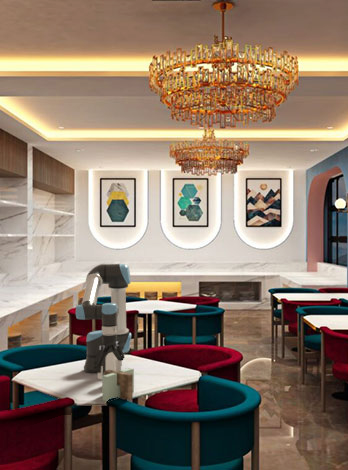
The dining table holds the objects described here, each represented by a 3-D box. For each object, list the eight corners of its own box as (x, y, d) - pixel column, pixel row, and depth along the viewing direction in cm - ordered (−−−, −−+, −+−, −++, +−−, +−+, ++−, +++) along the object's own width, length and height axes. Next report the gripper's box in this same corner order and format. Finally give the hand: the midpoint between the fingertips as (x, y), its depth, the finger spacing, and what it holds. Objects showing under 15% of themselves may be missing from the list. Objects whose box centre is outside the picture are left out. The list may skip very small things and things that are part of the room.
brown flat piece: (104, 394, 274) (104, 370, 274) (108, 393, 277) (108, 369, 277) (128, 399, 265) (128, 375, 265) (132, 398, 267) (132, 373, 268)
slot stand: (106, 401, 262) (106, 376, 262) (102, 400, 263) (102, 375, 264) (133, 392, 278) (133, 368, 278) (129, 391, 280) (129, 368, 280)
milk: (113, 382, 298) (113, 342, 299) (121, 384, 295) (121, 343, 295) (105, 384, 293) (105, 343, 294) (113, 386, 290) (113, 344, 290)
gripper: (97, 338, 262) (97, 382, 262) (131, 331, 283) (131, 371, 283) (86, 337, 267) (86, 380, 267) (120, 329, 287) (120, 369, 287)
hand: (109, 376), depth 275 cm, fingers open, 13 cm apart
